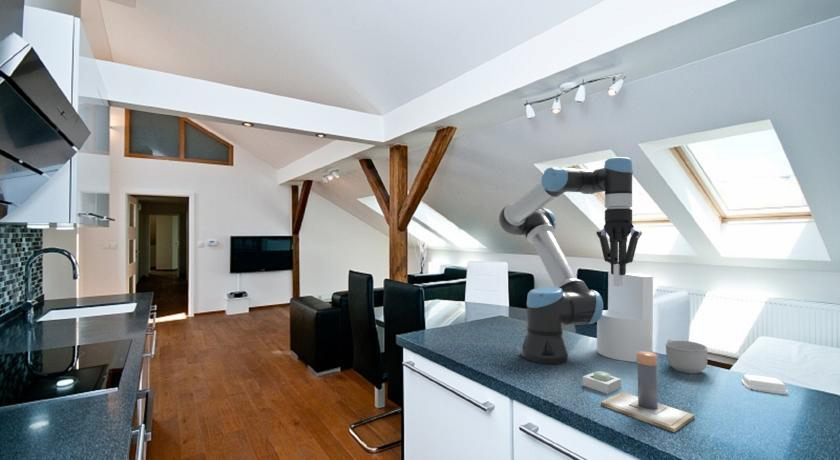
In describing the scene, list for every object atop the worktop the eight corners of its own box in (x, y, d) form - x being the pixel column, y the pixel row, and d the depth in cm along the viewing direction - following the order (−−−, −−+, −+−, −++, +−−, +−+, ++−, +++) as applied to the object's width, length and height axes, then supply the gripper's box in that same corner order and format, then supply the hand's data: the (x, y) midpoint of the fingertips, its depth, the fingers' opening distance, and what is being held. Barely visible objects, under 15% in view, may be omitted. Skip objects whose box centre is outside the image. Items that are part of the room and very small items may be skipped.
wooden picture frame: (600, 405, 94) (600, 400, 94) (623, 394, 100) (623, 390, 100) (674, 432, 81) (674, 427, 81) (694, 418, 87) (694, 413, 87)
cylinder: (628, 346, 145) (628, 272, 146) (665, 361, 128) (665, 276, 129) (586, 347, 142) (587, 272, 143) (618, 362, 125) (619, 276, 126)
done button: (590, 384, 106) (590, 373, 106) (598, 381, 108) (598, 370, 108) (605, 388, 103) (605, 377, 103) (612, 385, 105) (612, 374, 105)
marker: (634, 404, 92) (633, 353, 92) (643, 399, 94) (642, 350, 94) (652, 411, 88) (651, 358, 88) (661, 406, 91) (660, 354, 91)
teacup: (715, 377, 113) (715, 350, 113) (674, 374, 115) (674, 348, 115) (691, 362, 127) (691, 338, 127) (655, 360, 129) (655, 336, 129)
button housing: (582, 385, 106) (582, 376, 106) (596, 380, 110) (596, 371, 110) (607, 394, 101) (607, 384, 101) (620, 387, 105) (621, 378, 105)
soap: (747, 390, 105) (747, 379, 105) (739, 381, 111) (739, 371, 111) (790, 396, 101) (790, 385, 101) (780, 387, 107) (780, 377, 107)
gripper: (646, 208, 114) (646, 287, 114) (603, 210, 125) (603, 282, 125) (634, 206, 110) (634, 289, 110) (591, 209, 121) (591, 284, 120)
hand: (618, 285), depth 117 cm, fingers closed
